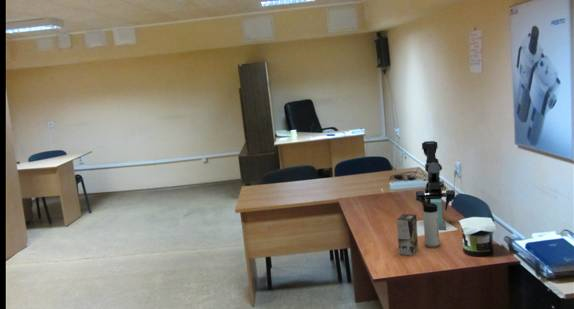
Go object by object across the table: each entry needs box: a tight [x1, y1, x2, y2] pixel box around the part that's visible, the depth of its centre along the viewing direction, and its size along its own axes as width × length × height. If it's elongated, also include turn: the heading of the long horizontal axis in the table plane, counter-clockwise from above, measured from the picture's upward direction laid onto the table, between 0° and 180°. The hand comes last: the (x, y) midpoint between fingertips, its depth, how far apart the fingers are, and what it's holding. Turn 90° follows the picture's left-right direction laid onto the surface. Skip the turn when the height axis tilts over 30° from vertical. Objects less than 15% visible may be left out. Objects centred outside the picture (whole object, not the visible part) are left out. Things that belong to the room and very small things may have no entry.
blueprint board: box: [416, 219, 459, 237], centre depth 233 cm, size 23×20×1 cm
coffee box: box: [396, 213, 419, 256], centre depth 207 cm, size 9×6×16 cm
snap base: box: [438, 220, 446, 230], centre depth 231 cm, size 8×8×2 cm
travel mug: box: [421, 203, 440, 249], centre depth 210 cm, size 6×7×20 cm
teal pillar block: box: [430, 198, 443, 225], centre depth 229 cm, size 5×5×12 cm
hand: (436, 210), depth 230 cm, fingers open, 9 cm apart
